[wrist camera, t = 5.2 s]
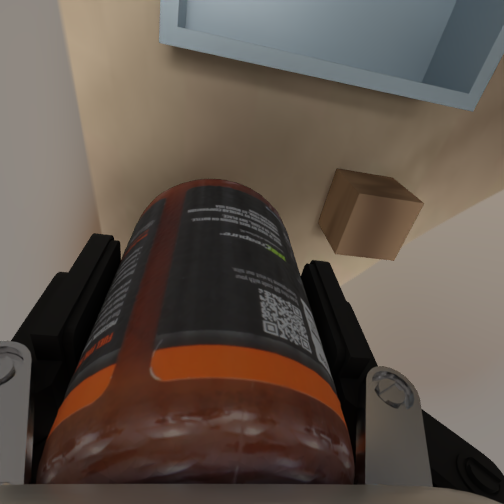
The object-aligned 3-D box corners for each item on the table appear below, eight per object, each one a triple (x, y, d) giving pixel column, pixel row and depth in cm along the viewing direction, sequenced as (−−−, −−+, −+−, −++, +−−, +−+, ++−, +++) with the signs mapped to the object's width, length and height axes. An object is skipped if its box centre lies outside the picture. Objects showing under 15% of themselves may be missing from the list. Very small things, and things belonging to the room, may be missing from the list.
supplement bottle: (143, 294, 14) (-4, 774, 5) (130, 164, 11) (-352, 874, 2) (275, 299, 15) (352, 730, 6) (300, 179, 12) (571, 745, 3)
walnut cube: (392, 177, 27) (424, 203, 23) (369, 229, 30) (394, 260, 26) (336, 168, 26) (359, 193, 22) (317, 222, 29) (335, 253, 25)
